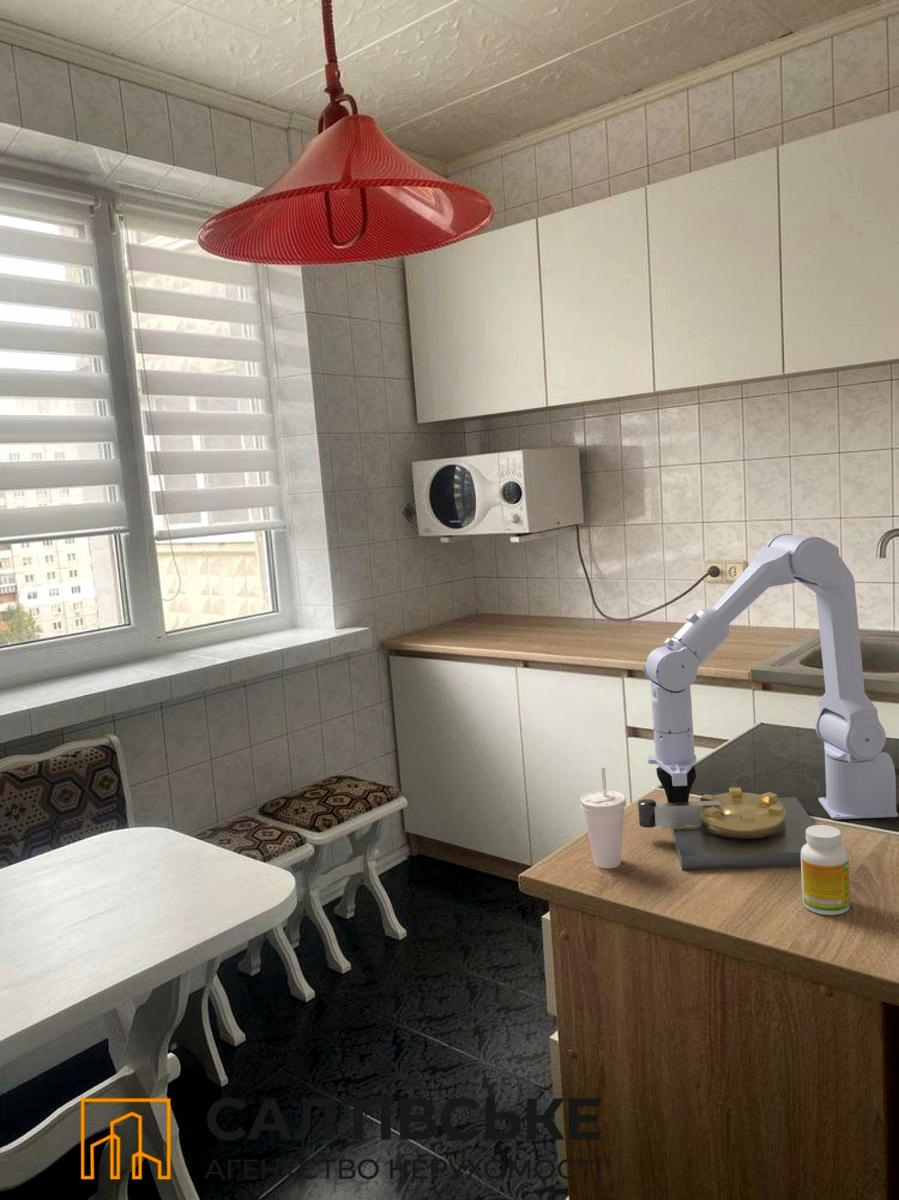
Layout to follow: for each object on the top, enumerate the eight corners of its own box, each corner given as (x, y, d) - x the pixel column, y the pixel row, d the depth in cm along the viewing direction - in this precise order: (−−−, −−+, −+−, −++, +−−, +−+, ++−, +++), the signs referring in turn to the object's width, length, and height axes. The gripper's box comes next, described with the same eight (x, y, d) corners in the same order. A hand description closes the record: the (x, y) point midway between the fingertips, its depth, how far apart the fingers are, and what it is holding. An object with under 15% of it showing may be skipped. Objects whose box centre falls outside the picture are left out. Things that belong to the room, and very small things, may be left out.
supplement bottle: (854, 917, 107) (852, 840, 106) (807, 916, 109) (803, 840, 107) (844, 895, 113) (841, 822, 111) (799, 895, 114) (796, 822, 112)
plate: (796, 809, 140) (795, 796, 140) (833, 865, 121) (833, 850, 121) (656, 814, 143) (655, 802, 143) (670, 870, 124) (669, 855, 124)
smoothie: (639, 859, 128) (632, 765, 126) (614, 876, 123) (607, 779, 122) (601, 849, 132) (594, 758, 130) (576, 866, 128) (568, 771, 126)
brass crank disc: (776, 804, 137) (775, 783, 136) (793, 837, 125) (793, 813, 124) (637, 809, 140) (635, 788, 139) (641, 841, 128) (640, 818, 128)
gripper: (643, 715, 141) (648, 798, 143) (648, 744, 127) (654, 835, 129) (689, 713, 140) (694, 796, 141) (699, 742, 125) (705, 834, 127)
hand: (678, 815), depth 135 cm, fingers closed
